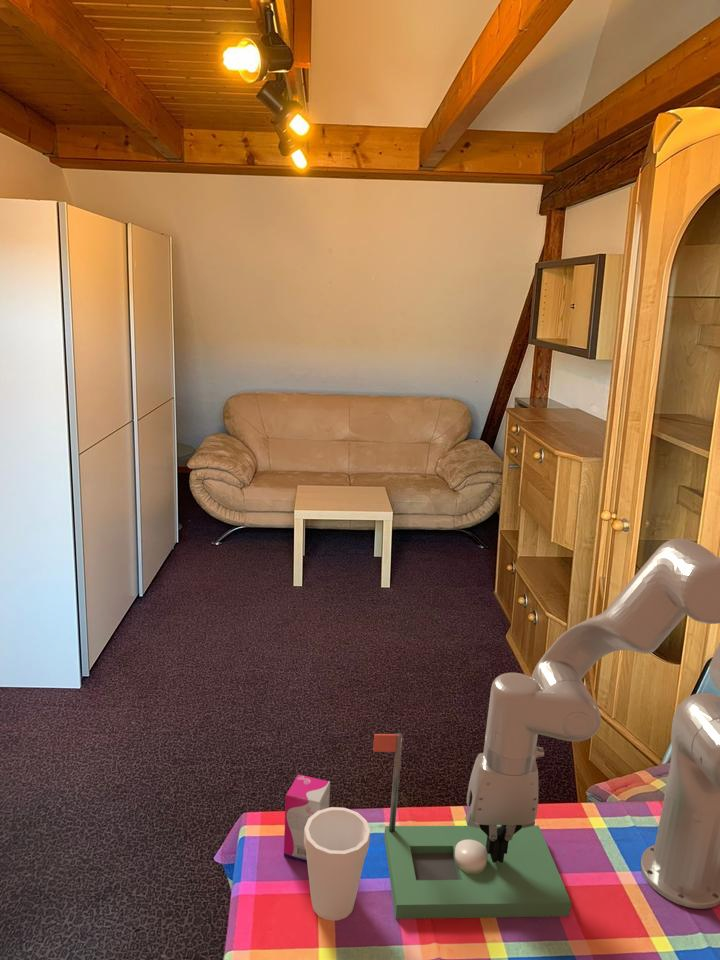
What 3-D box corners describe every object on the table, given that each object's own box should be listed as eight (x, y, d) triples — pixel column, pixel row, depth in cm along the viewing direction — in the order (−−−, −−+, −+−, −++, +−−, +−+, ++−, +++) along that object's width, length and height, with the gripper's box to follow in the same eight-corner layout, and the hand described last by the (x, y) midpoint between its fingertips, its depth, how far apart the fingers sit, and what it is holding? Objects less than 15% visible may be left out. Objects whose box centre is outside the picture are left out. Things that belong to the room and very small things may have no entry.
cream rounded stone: (481, 849, 120) (482, 838, 120) (490, 873, 115) (491, 862, 115) (450, 850, 119) (452, 840, 119) (458, 874, 115) (459, 864, 114)
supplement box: (328, 840, 124) (331, 780, 120) (316, 865, 118) (319, 804, 115) (295, 831, 125) (297, 772, 122) (282, 856, 119) (284, 795, 116)
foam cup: (356, 936, 106) (362, 860, 102) (293, 922, 108) (297, 846, 104) (369, 885, 115) (375, 813, 111) (311, 872, 117) (314, 802, 113)
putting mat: (536, 837, 127) (552, 732, 121) (569, 916, 111) (588, 799, 106) (366, 838, 124) (373, 730, 119) (375, 919, 109) (384, 799, 103)
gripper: (549, 739, 117) (535, 838, 122) (454, 739, 115) (444, 838, 120) (565, 771, 109) (549, 874, 114) (464, 770, 108) (453, 874, 113)
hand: (495, 855), depth 117 cm, fingers closed
